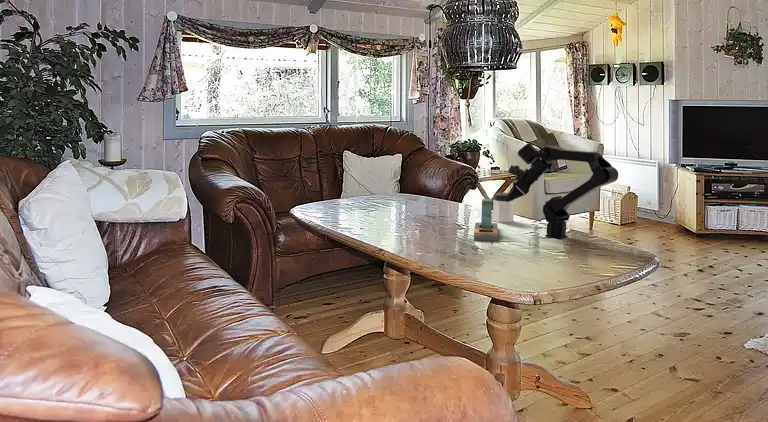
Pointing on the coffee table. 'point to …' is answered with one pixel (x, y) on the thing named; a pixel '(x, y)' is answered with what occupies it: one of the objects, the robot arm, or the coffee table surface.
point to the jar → (503, 209)
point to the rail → (486, 233)
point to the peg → (486, 213)
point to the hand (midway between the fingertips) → (506, 199)
